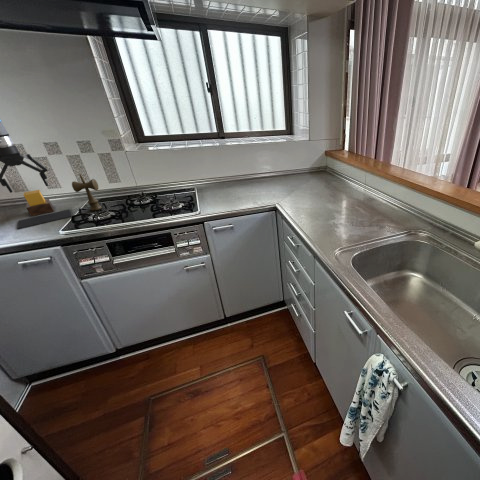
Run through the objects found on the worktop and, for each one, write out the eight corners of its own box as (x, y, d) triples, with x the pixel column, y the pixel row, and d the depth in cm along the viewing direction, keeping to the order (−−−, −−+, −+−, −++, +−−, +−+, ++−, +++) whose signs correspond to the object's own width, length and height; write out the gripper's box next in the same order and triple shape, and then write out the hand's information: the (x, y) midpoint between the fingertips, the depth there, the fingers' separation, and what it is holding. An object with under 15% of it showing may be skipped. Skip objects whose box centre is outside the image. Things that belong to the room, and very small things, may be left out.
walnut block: (31, 216, 139) (25, 207, 137) (31, 211, 145) (26, 203, 143) (54, 211, 145) (49, 203, 142) (53, 206, 150) (48, 198, 148)
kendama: (105, 210, 145) (89, 174, 135) (84, 213, 142) (65, 176, 132) (108, 206, 150) (92, 171, 140) (87, 209, 147) (70, 173, 137)
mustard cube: (30, 206, 139) (23, 195, 136) (30, 203, 142) (23, 192, 139) (45, 203, 142) (39, 192, 139) (45, 200, 146) (39, 189, 143)
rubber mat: (17, 229, 127) (17, 228, 127) (19, 221, 134) (18, 220, 134) (71, 216, 138) (71, 215, 138) (69, 210, 146) (69, 209, 146)
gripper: (-37, 151, 118) (-6, 196, 129) (39, 143, 132) (61, 184, 143) (-34, 149, 123) (-4, 192, 134) (39, 141, 137) (60, 181, 148)
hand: (29, 188), depth 138 cm, fingers open, 13 cm apart
